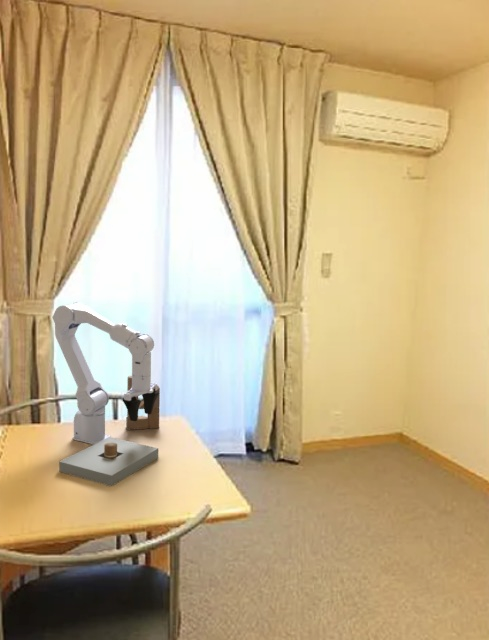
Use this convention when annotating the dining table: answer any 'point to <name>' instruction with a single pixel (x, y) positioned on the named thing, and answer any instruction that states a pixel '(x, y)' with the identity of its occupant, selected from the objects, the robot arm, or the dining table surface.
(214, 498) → the dining table surface
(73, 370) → the robot arm
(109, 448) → the peg
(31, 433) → the dining table surface
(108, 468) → the board
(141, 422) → the wooden block
